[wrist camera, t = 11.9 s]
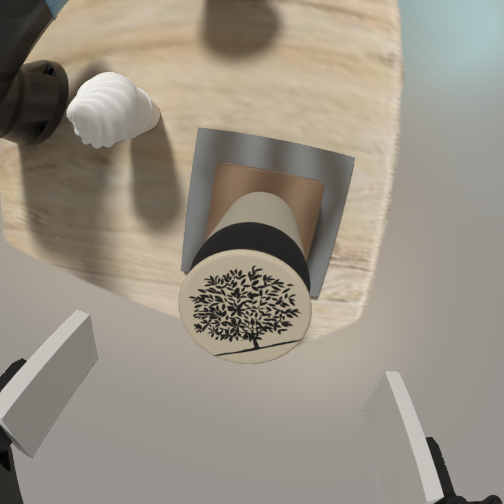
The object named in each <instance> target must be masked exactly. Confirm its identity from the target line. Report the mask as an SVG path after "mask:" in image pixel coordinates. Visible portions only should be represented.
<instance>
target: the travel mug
mask: <svg viewBox="0 0 504 504" xmlns="http://www.w3.org/2000/svg"><path fill="white" fill-rule="evenodd" d="M310 287H311V284H310V275H309V271H308V267H307V263H306V259H305V255H304V251H303V247H302V243H301V239H300V235H299V231H298V227H297V223H296V220H295V216H294V213H293V211H292V210H291V208H290V207H289V205H288V204H287V203H286V202H285V201H284V200H283V199H281V198H280V197H278V196H276V195H274V194H271V193H267V192H253V193H249V194H246V195H244V196H242V197H240V198H239V199H238V200H236V201H235V202H234V203H233V204H232V206H231V207H230V208H229V210H228V211H227V212H226V214H225V215H224V216H223V218H222V219H221V221H220V222H219V223H218V225H217V226H216V227H215V229H214V230H213V232H212V233H211V234H210V236H209V237H208V239H207V240H206V241H205V243H204V244H203V246H202V247H201V248H200V250H199V251H198V253H197V254H196V256H195V258H194V260H193V262H192V265H191V268H190V272H189V274H188V275H187V276H186V278H185V280H184V282H183V284H182V286H181V289H180V293H179V313H180V317H181V320H182V323H183V325H184V327H185V329H186V331H187V332H188V334H189V335H190V337H191V338H192V339H193V340H194V341H195V342H196V343H197V344H198V345H199V346H200V347H201V348H203V349H204V350H205V351H207V352H208V353H210V354H212V355H214V356H216V357H218V358H221V359H223V360H226V361H230V362H234V363H241V364H257V363H264V362H268V361H271V360H274V359H277V358H279V357H281V356H283V355H285V354H287V353H288V352H289V351H291V350H292V349H293V348H294V347H296V346H297V345H298V343H299V342H300V341H301V340H302V339H303V337H304V336H305V334H306V332H307V330H308V327H309V325H310V321H311V316H312V304H311V298H310Z"/></svg>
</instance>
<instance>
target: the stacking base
mask: <svg viewBox="0 0 504 504" xmlns="http://www.w3.org/2000/svg"><path fill="white" fill-rule="evenodd" d="M354 160H355V158H354V157H351V156H347V155H343V154H339V153H335V152H331V151H327V150H323V149H319V148H315V147H311V146H306V145H302V144H297V143H292V142H287V141H282V140H277V139H272V138H267V137H261V136H255V135H249V134H243V133H236V132H230V131H222V130H215V129H207V128H198V134H197V140H196V146H195V153H194V159H193V166H192V173H191V181H190V188H189V196H188V205H187V213H186V223H185V232H184V242H183V253H182V265H181V271H184V272H190V268H191V265H192V262H193V260H194V258H195V256H196V254H197V253H198V251H199V250H200V248H201V247H202V246H203V244H204V243H205V241H206V240H207V239H208V237H209V236H210V234H211V233H212V232H213V230H214V229H215V227H216V226H217V225H218V223H219V222H220V221H221V219H222V218H223V216H224V215H225V214H226V212H227V211H228V210H229V208H230V207H231V206H232V204H233V203H234V202H235V201H236V200H238V199H239V198H240V197H242V196H244V195H246V194H249V193H253V192H267V193H271V194H274V195H276V196H278V197H280V198H281V199H283V200H284V201H285V202H286V203H287V204H288V205H289V207H290V208H291V210H292V211H293V213H294V216H295V220H296V223H297V227H298V231H299V235H300V239H301V243H302V247H303V251H304V255H305V259H306V263H307V267H308V271H309V275H310V284H311V287H310V296H314V297H318V296H319V293H320V289H321V286H322V283H323V280H324V276H325V273H326V270H327V266H328V263H329V259H330V256H331V252H332V249H333V245H334V242H335V238H336V234H337V231H338V227H339V223H340V219H341V215H342V211H343V207H344V203H345V199H346V195H347V191H348V187H349V182H350V178H351V174H352V169H353V165H354Z"/></svg>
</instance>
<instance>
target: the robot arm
mask: <svg viewBox="0 0 504 504" xmlns="http://www.w3.org/2000/svg"><path fill="white" fill-rule="evenodd" d="M67 2H68V0H0V138H3V139H6V140H9V141H12V142H15V143H17V144H20V145H33V144H38V143H41V142H43V141H44V140H46V139H47V138H48V137H49V136H50V135H51V134H52V133H53V131H54V130H55V128H56V127H57V125H58V123H59V122H60V120H61V117H62V115H63V112H64V109H65V106H66V102H67V95H68V81H67V76H66V73H65V71H64V69H63V68H62V66H61V65H59V64H58V63H56V62H52V61H48V60H39V61H35V62H31V63H27V64H23V63H24V61H25V60H26V58H27V57H28V55H29V53H30V52H31V50H32V49H33V47H34V46H35V45H36V43H37V42H38V40H39V39H40V37H41V36H42V35H43V33H44V32H45V31H46V29H47V28H48V27H49V25H50V24H51V23H52V21H53V20H55V19H56V18H57V15H58V13H59V12H60V11H61V9H62V8H63V7H64V5H65V4H66V3H67ZM97 360H98V357H97V351H96V346H95V341H94V335H93V331H92V323H91V317H90V314H88V313H85V312H82V311H80V310H76V311H75V312H74V313H73V314H72V315H71V316H70V317H69V318H68V319H67V320H66V321H65V322H64V323H63V324H62V325H61V326H60V327H59V328H58V329H57V330H56V331H55V332H54V333H53V334H52V335H51V336H50V337H49V338H48V339H47V340H46V341H45V342H44V344H43V345H42V346H41V347H40V348H39V349H38V350H37V351H36V352H35V353H34V354H33V355H32V357H31V358H30V359H29V360H28V361H26V360H24V359H23V358H21V359H20V360H18V361H16V362H14V363H12V364H11V366H10V367H9V368H8V369H7V370H6V371H5V373H3V375H2V376H1V377H0V504H23V500H22V497H21V493H20V489H19V485H18V480H17V476H16V471H15V466H14V460H13V454H12V450H11V447H10V445H11V443H12V442H13V443H14V445H15V446H16V447H17V448H18V449H19V450H20V451H21V452H23V453H24V454H26V455H27V456H29V457H30V458H33V457H34V455H35V453H36V452H37V450H38V448H39V447H40V445H41V443H42V442H43V440H44V438H45V437H46V435H47V434H48V432H49V431H50V429H51V427H52V426H53V424H54V423H55V421H56V420H57V418H58V417H59V415H60V413H61V412H62V410H63V409H64V407H65V406H66V404H67V403H68V401H69V400H70V398H71V397H72V395H73V394H74V392H75V391H76V389H77V388H78V387H79V385H80V384H81V382H82V381H83V379H84V378H85V377H86V375H87V374H88V372H89V370H90V369H91V368H92V366H93V365H94V364H95V362H96V361H97ZM361 413H362V417H363V422H364V426H365V430H366V435H367V439H368V444H369V448H370V453H371V458H372V463H373V468H374V474H375V479H376V484H377V490H378V495H379V502H380V504H502V501H501V499H500V498H499V497H498V496H496V495H490V496H488V497H487V498H486V499H484V500H483V501H475V502H467V501H466V499H465V498H463V497H462V496H456V494H455V492H454V490H453V486H452V483H451V480H450V477H449V474H448V471H447V468H446V465H444V463H445V462H444V459H443V457H442V454H441V451H440V448H439V445H438V444H437V443H436V442H435V440H434V439H433V438H432V437H427V438H425V436H424V434H423V431H422V428H421V425H420V423H419V420H418V418H417V415H416V412H415V410H414V407H413V405H412V402H411V400H410V397H409V395H408V392H407V390H406V388H405V385H404V383H403V381H402V378H401V376H400V373H399V372H390V371H385V372H384V374H383V375H382V377H381V379H380V380H379V382H378V384H377V385H376V387H375V388H374V390H373V392H372V393H371V395H370V396H369V398H368V400H367V401H366V403H365V404H364V406H363V407H362V409H361Z"/></svg>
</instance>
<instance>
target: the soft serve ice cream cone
mask: <svg viewBox="0 0 504 504" xmlns="http://www.w3.org/2000/svg"><path fill="white" fill-rule="evenodd" d="M66 113H67V115H66V116H67V118H69V121H70V122H72V123H73V125H74V131H75V134H76V135H77V136H81V140H82V142H83V144H90V143H91V144H92V146H93V147H94V148H96V149H98V148H101V147H102V146H103V145H104V146H105V147H111V146H113V145H114V143H115V142H119V141H122V140H128V139H132V138H135V137H137V136H138V135H140V134H141V133H144V132H146V131H149V130H151V129H153V128H154V127H155V126H156V125H157V123H158V121H159V119H160V110H159V107H158V106H157V105H156V104H155V103H154V102H153V101H152V100H151V99H150V97H149V95H148V94H147V93H146V92H145V91H143V90H142V89H139V88H136V86H135V85H134V84H133V82H132V81H131V80H130V79H128V78H127V77H125V76H123V75H120V74H117V73H113V72H105V73H101V74H99V75H96V76H95V77H93V78H92V79H90V80H88V81H86V82H85V83H84V84H83V85H82V86H81V87H80V89H79V90H78V92H77V95H76V97H75V98H74V99H73V100H72V102H71V103H70V104H69V106H68V109H67V112H66Z"/></svg>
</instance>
